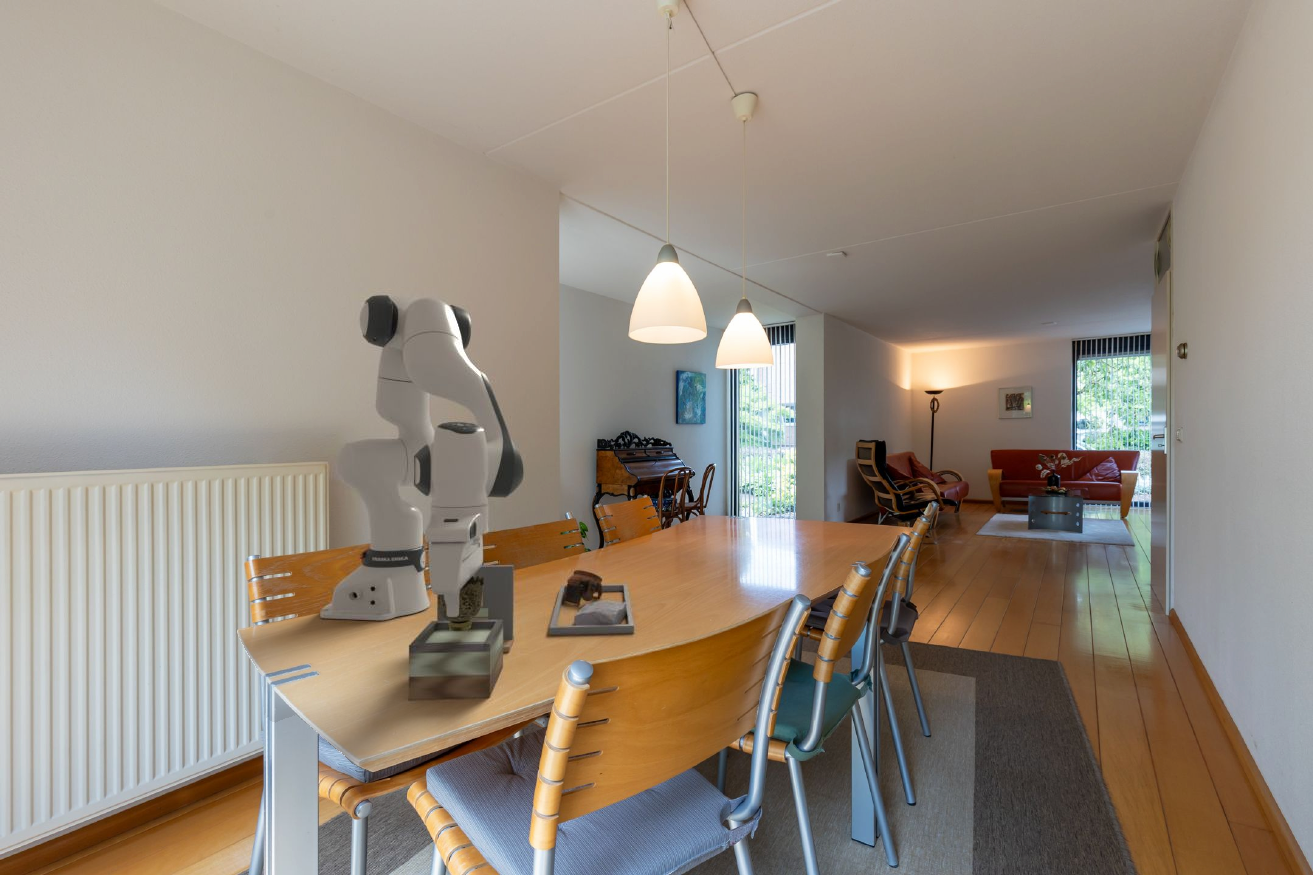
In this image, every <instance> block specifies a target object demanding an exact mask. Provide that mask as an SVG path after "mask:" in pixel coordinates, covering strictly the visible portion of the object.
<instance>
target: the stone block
mask: <svg viewBox="0 0 1313 875" xmlns="http://www.w3.org/2000/svg"><path fill="white" fill-rule="evenodd" d="M626 611H627V610H626V602H625V601H624V602H620V601H613V600H598V601H593V602H589V603H586V604H585V605H584V606H582V607H581V608H580V609H579V610H578V611H577V613H576V614H575V615H574V617H573V622H574V624H575V625H574V626H578V625H621V624H622V622H623V620H624V619H625V617H627V614H626Z"/></svg>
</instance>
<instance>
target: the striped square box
mask: <svg viewBox="0 0 1313 875" xmlns="http://www.w3.org/2000/svg"><path fill="white" fill-rule="evenodd" d="M448 624H449V621H437V620H432V621H430V622H429V623H428V624H427V625H426V627H425V628H423V629H422V631H421V632H420V633H419V634H418V635H417V636H416V637H415V638H414V639H413V641H412V642H411V643H410V644H409V645H408V700H409V701H417V700H420V701H423V700H449V699H450V700H451V699H452V700H454V699H477V698H479V699H480V698H482V699H483V698H491V696H492V694H493V691H494V689H495V687H496V684H497V682H498V679H499V677H500V675H501V672H502V670H503V668H504V652H503V620H472V626H471V627H470V628H469V629H468V630H465V631H452V630H450V629H449V626H448Z"/></svg>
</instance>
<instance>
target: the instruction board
mask: <svg viewBox="0 0 1313 875" xmlns="http://www.w3.org/2000/svg"><path fill="white" fill-rule="evenodd" d="M514 567H515V565H514V564H498V565H495V564H493V565H491V564H490V565H482V566H481V567H480V569H479V570H478V571H477V572H476V573H475V574H474V578H475V579H476V577H477V576H479V578H480V579H481V578H482V577H484V587H483V595H482V602H481V607H480V610H479V612H478V614H477V615H476V616H475V617H474V618H472V619H471V620H503V653H510V652H511V650H512V647H513V644H514V643H513V642H515V636H514V606H515V605H514V599H515V598H514V591H515V590H514V589H515V588H514V584H515V582H514V579H515V575H514V574H515V568H514ZM436 597H437V598H436V599H437V600H436V604H437V606H436V609H437V611H436V618H437V619H436V621H448V620H446V619H445V618H444V617H443V616H442V615H441V613H440V609H439V604H438V596H436Z"/></svg>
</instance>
